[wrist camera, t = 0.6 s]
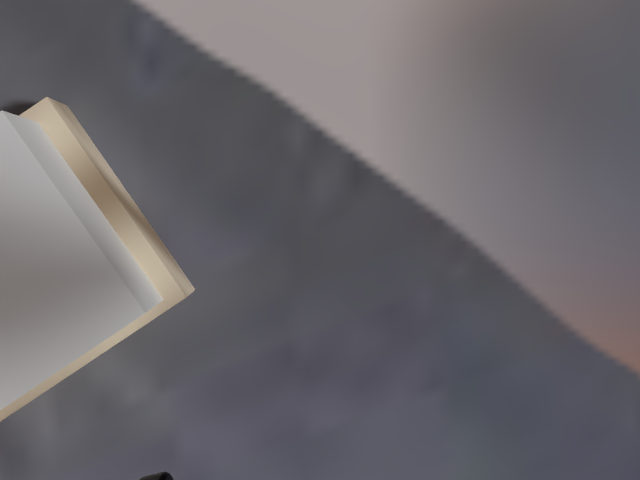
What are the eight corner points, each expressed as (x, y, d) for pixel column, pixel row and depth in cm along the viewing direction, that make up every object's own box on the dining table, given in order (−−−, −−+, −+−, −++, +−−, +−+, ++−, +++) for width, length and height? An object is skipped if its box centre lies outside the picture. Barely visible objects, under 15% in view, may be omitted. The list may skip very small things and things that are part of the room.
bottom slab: (198, 287, 23) (186, 297, 20) (23, 403, 23) (-10, 427, 20) (74, 109, 22) (46, 96, 20) (-106, 229, 22) (-157, 232, 20)
